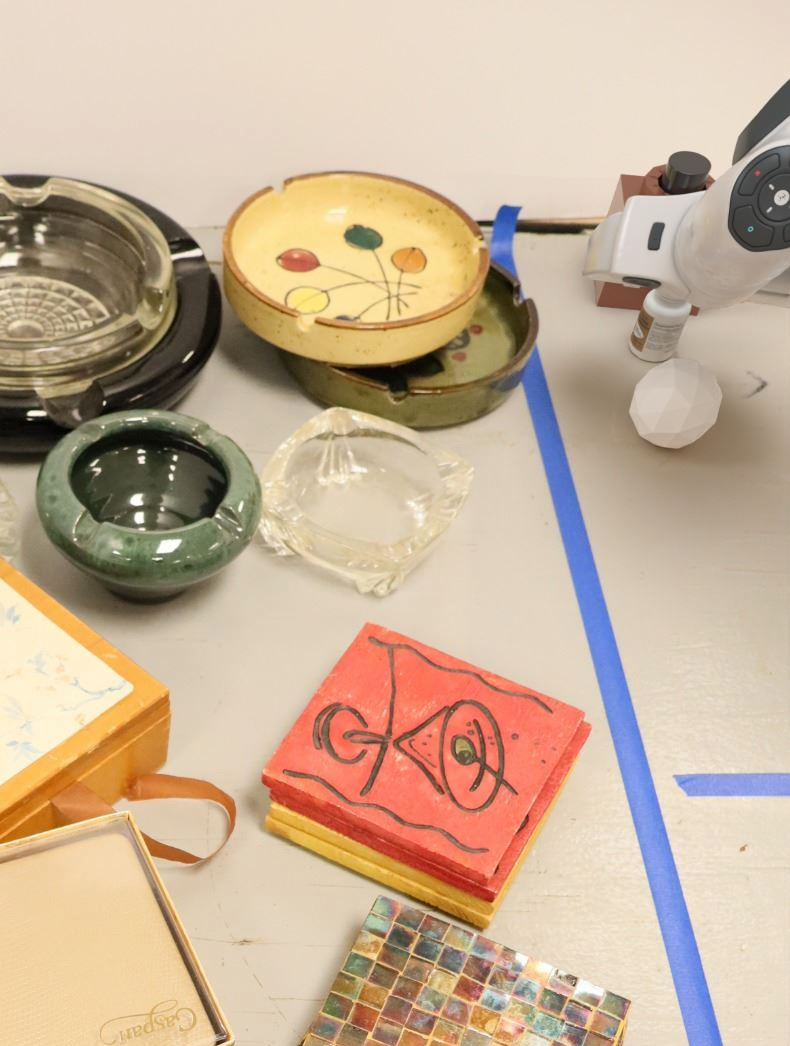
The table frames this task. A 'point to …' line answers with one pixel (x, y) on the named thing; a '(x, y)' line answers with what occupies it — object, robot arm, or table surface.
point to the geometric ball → (675, 403)
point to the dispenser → (626, 188)
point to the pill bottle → (659, 326)
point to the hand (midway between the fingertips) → (684, 285)
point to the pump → (685, 173)
